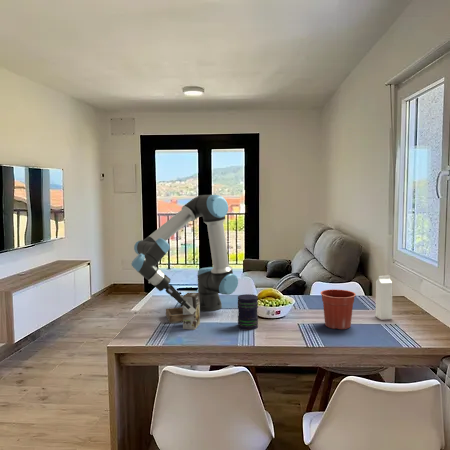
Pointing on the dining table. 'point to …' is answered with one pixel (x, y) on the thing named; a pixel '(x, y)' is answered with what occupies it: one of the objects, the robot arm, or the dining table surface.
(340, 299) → the flower pot
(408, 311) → the dining table surface
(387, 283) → the milk
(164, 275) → the robot arm
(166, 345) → the dining table surface
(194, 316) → the coffee box
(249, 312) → the storage jar
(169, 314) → the wooden tray
